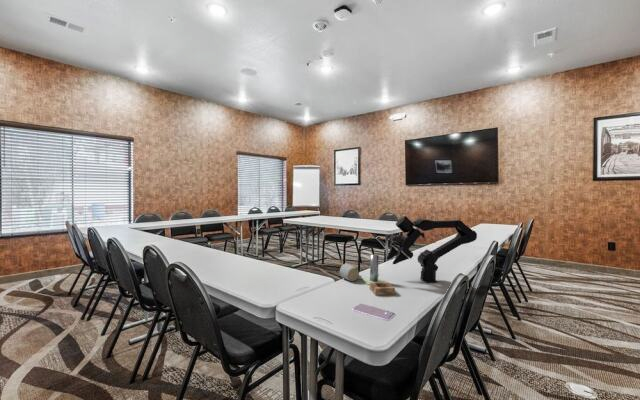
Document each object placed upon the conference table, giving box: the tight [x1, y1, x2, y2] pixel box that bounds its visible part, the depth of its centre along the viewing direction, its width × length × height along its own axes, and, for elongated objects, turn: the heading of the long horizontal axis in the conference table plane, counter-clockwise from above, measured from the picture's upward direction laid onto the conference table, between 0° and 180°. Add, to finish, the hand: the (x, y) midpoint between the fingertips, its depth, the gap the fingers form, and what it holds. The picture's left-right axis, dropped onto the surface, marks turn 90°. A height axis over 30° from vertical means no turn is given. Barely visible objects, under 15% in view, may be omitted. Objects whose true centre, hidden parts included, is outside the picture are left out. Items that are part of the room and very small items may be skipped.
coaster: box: [361, 276, 385, 286], centre depth 147 cm, size 10×10×1 cm
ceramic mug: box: [339, 262, 363, 282], centre depth 150 cm, size 11×8×8 cm
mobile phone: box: [351, 303, 396, 322], centre depth 110 cm, size 8×1×15 cm
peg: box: [369, 253, 380, 282], centre depth 147 cm, size 4×4×13 cm
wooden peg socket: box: [369, 281, 396, 296], centre depth 132 cm, size 9×9×3 cm
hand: (390, 261), depth 148 cm, fingers open, 9 cm apart
